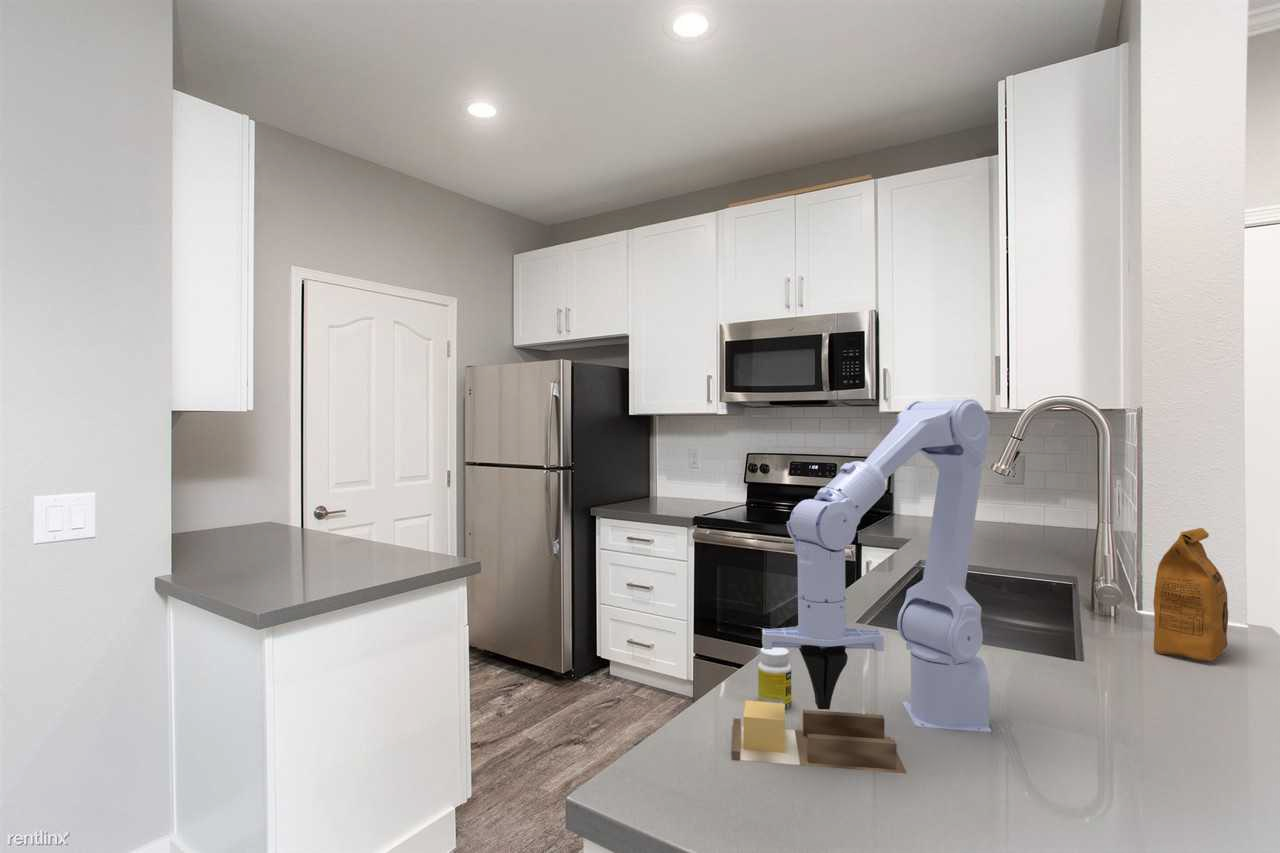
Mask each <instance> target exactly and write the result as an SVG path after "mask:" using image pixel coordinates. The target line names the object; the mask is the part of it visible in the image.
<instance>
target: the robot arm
mask: <svg viewBox="0 0 1280 853" xmlns="http://www.w3.org/2000/svg"><path fill="white" fill-rule="evenodd" d="M982 406H983V405H982V404H980V403H979V401H977V400H975V399H972V398H966V399H962V400H945V401H941V400H939V401H918V400H916V401H912V402H910V403H909V404H907V406H906V407H905V408H904V410H902V411H900V412H898V414H897V419H896V425H895V426H894V427H893V428H892V429H891V430H890V432H888V434H887V435H886V436H885V437H884V438H883V440H882V441H881V442H880V443H879V444H878V445H877V447H875V448H874V450H873V451H872V452H871V453H870V454H869V456H868V457H867V458H866V459H865V460H864V461H860V460H859V461H857V460H855V461H851V462H844V464H843V465H842V466H841V467H839V470H840V472H839V473H838V474H837V475H836V476H835V477H834V478H833V479H832V480H830V482H829V483H827V485H826V486H824V487H821V488H820V489H818V491H816V492H817V494H816V495H815V496H814V498H808V499H804V500H801V501H800V502H798V503H797V505H796V506H795V507H794V508H793V509H792V511H791V514H790V517H789V520H788V521H786V528H787V532H788V534H789V536H790V538H791V539H792V541H793V543H794V553H796V554H795V555H796V556H797V612H798V613H797V617H798V621H797V622H798V624H797V625H798V626H797V625H796V626H789V627H780V628H762V629H761V635H762V636H761V639H762V640H761V644H762V648H763V647H764V649H773V648H786V649H787V648H788V649H790V648H791V649H798V650H799V653H800V654H801V656H802V659H803V662H804V663H805V666H806V669H807V672H808V675H809V678H810V680H811V681H810V682H811V683H812V684H811V685H812V689H813V695H814V700H815V701H814V702H815V704H816V707H817V709H818V710H826V711H827V710H828V711H829V710H830V709H831V703H832V698H833V694H834V691H835V688H836V685H837V683H838V680H839V678H840V676H841V674H842V672H843V670H844V668H845V667H846V665H847V662H848V659H849V658H848V653H847V652H846V649H850V650H851V649H852V650H853V649H856V650H857V649H859V650H860V649H861V650H862V649H863V650H864V649H865V650H874V651H876V652H884V651H885V642H884V641H885V638H884V634H883V633H882V632H881V631H880V630H876V629H875V630H874V629H873V630H872V629H860V628H851V627H846V624H847V623H846V622H847V619H846V618H847V616H846V615H847V614H846V613H847V611H846V547H848V546H849V545H851V544H852V542H853V541H854V539H855V537H856V532H857V527H858V526H859V524H860V523H861V519H862V517H863V516H864V515H865V514H866V513H867V512H868V511H870V509H871V508H872V507H873V506H874V505H875V504H876V503H877V502H878V501H879V500H880V499H881V497H882V496H884V494H885V493H886V487H887V485H886V480H887V479H888V478H889V477H890V476H892V475H893V474H894V473H895V472H896V471H897V470H898V469H899V468H901V467H902V466H903V465H905V463H906V462H907V461H909V460H911V458H912V457H914V456H915V455H916V454H917V453H918V452H920V453H921V454H922V455H923V456H924V457H926V459H928V460H929V461H931V462H933V464H934V465H935V466H936V469H937V470H938V479H937V485H936V492H935V496H934V504H933V511H932V518H931V524H930V530H929V535H928V536H929V537H928V543H927V549H926V550H927V551H926V555H925V564H924V570H923V577H922V579H921V580H920V581H919V582H917V583H916V584H913V586H911V587H909V588H907V590H906V592H905V593H906V594H905V599H904V603H903V605H902V606H901V608H900V610H899V612H898V616H897V622H896V623H897V624H896V625H897V632H898V634H899V635H900V638H902V640H904V641H905V642H906V647H905V648H906V650H908V651H910V701H902V705H903V707H904V709H905V711H906V712H907V714H908V716H909V717H910V719H911V721H912V723H913V725H914V726H915V727H917V728H923V729H924V728H925V729H926V728H927V729H937V730H938V729H940V730H942V729H943V730H953V731H954V730H955V731H969V732H981V733H982V732H984V733H989V734H991V733H992V729H991V728H990V681H989V680H990V679H989V674H988V670H987V666H986V663H985V662H984V660H983V659H982V658H981V657H980V656H977V654H979V652H980V649H981V647H982V644H983V638H984V636H983V635H984V634H983V628H982V623H981V622H982V620H981V619H982V618H981V617H982V616H981V615H982V610H983V609H982V606H981V605H980V604H979V603H978V602H977V601H976V599H975V598H974V597H973V596H972V595H971V594H970V593H969V592H968V590H967V589H966V582H967V576H968V569H969V562H970V555H971V548H972V542H973V535H974V528H975V522H976V515H977V507H978V499H979V493H980V488H981V486H980V485H981V479H982V473H983V466H984V463H985V461H986V457H987V455H986V454H987V450H988V449H987V448H988V442H989V436H990V428H991V420H990V419H989V416H988V414H987V413H986V411H985V410H984V408H983V407H982ZM933 603H935V604H933ZM936 604H939V605H942V606H946V607H947V608H946V607H942V606H939V605H936Z"/></svg>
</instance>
